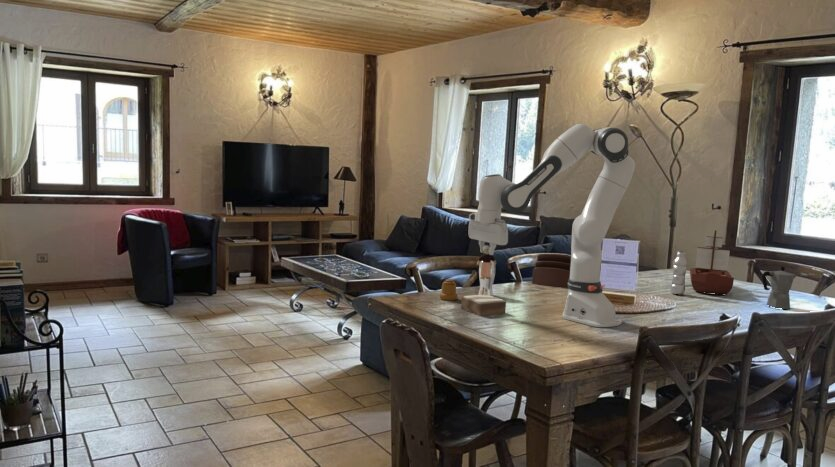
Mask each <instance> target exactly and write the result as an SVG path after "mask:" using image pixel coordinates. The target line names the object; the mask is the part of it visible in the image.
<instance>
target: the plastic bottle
mask: <svg viewBox="0 0 835 467" xmlns="http://www.w3.org/2000/svg"><path fill="white" fill-rule="evenodd" d="M688 266H689V264H688V260H687V259H686V251H682V250H677V251H676V257H675V258H674V259H673V261H672V279H671V283H670V293H671V294H674V295H676V294H678V295H677V296H679V295H684V294H685V292H686V285H685V284H686V272H687V269H688Z"/></svg>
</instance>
